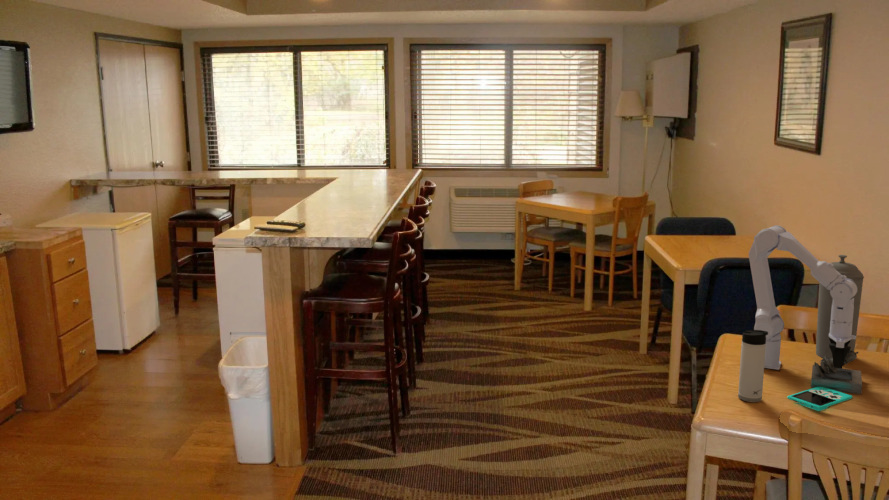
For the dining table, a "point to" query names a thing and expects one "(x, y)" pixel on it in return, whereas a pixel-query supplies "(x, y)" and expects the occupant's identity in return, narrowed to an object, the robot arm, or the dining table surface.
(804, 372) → the dining table surface
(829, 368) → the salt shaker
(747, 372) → the travel mug
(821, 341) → the canister
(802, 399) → the handheld game console
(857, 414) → the dining table surface
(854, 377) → the square socket
